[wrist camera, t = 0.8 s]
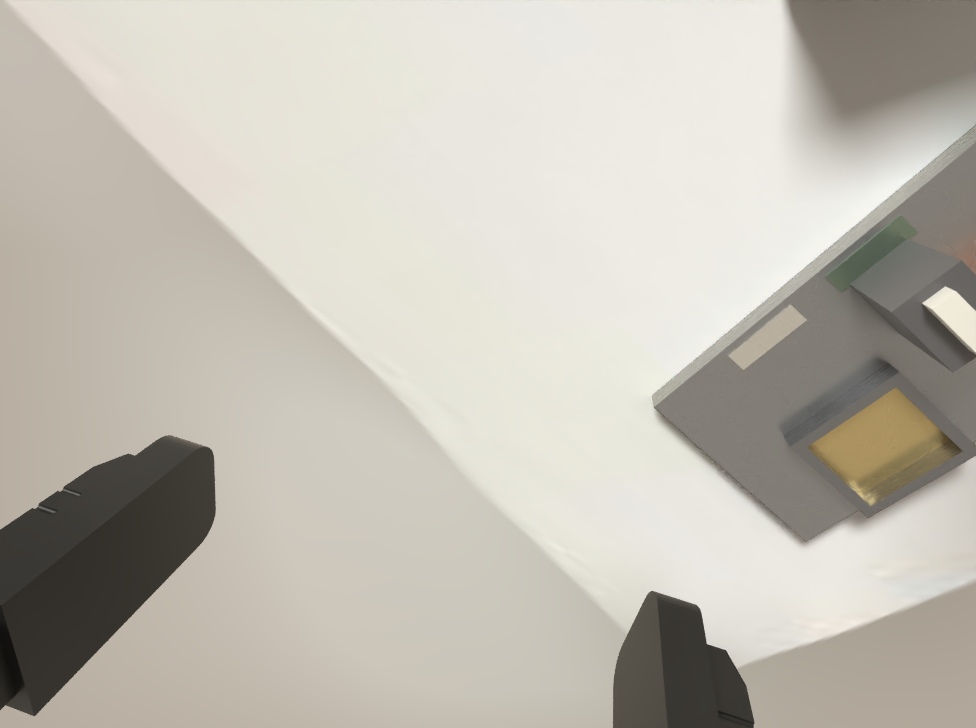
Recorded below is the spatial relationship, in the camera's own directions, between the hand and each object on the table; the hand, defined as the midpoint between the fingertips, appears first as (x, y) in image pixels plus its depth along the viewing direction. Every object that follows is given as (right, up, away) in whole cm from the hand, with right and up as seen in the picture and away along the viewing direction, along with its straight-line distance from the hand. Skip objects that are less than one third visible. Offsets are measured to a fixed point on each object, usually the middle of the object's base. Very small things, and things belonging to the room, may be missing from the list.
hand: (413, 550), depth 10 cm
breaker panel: (+22, +4, +20) cm, 30 cm away
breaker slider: (+22, +7, +17) cm, 29 cm away
